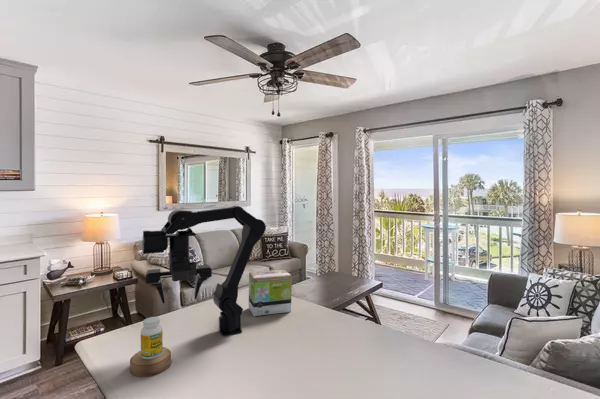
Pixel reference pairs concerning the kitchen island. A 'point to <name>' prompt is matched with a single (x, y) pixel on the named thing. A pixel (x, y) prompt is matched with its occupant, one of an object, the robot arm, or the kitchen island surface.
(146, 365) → the pedestal
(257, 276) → the tea box
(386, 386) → the kitchen island surface
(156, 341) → the supplement bottle
